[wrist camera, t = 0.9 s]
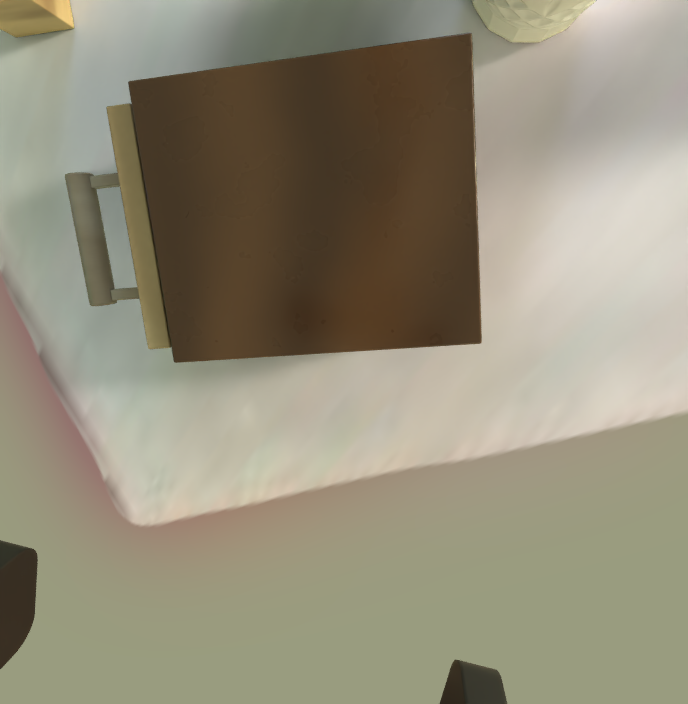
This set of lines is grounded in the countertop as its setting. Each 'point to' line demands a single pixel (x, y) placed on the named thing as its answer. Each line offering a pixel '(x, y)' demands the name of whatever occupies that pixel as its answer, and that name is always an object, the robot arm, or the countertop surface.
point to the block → (35, 16)
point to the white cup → (529, 17)
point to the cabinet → (316, 201)
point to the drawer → (138, 226)
